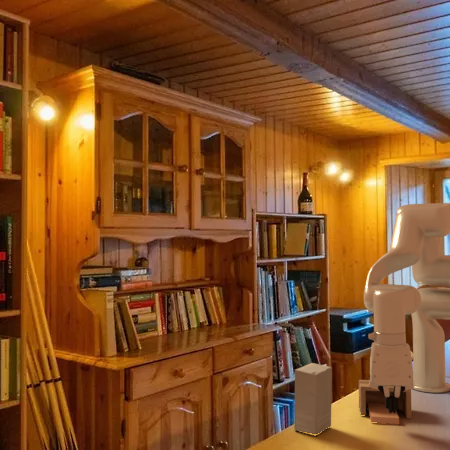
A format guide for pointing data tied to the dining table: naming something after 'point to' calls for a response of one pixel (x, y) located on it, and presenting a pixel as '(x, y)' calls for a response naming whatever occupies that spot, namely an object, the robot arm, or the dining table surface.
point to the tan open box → (382, 398)
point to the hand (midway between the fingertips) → (391, 411)
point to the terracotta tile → (381, 414)
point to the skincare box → (313, 398)
